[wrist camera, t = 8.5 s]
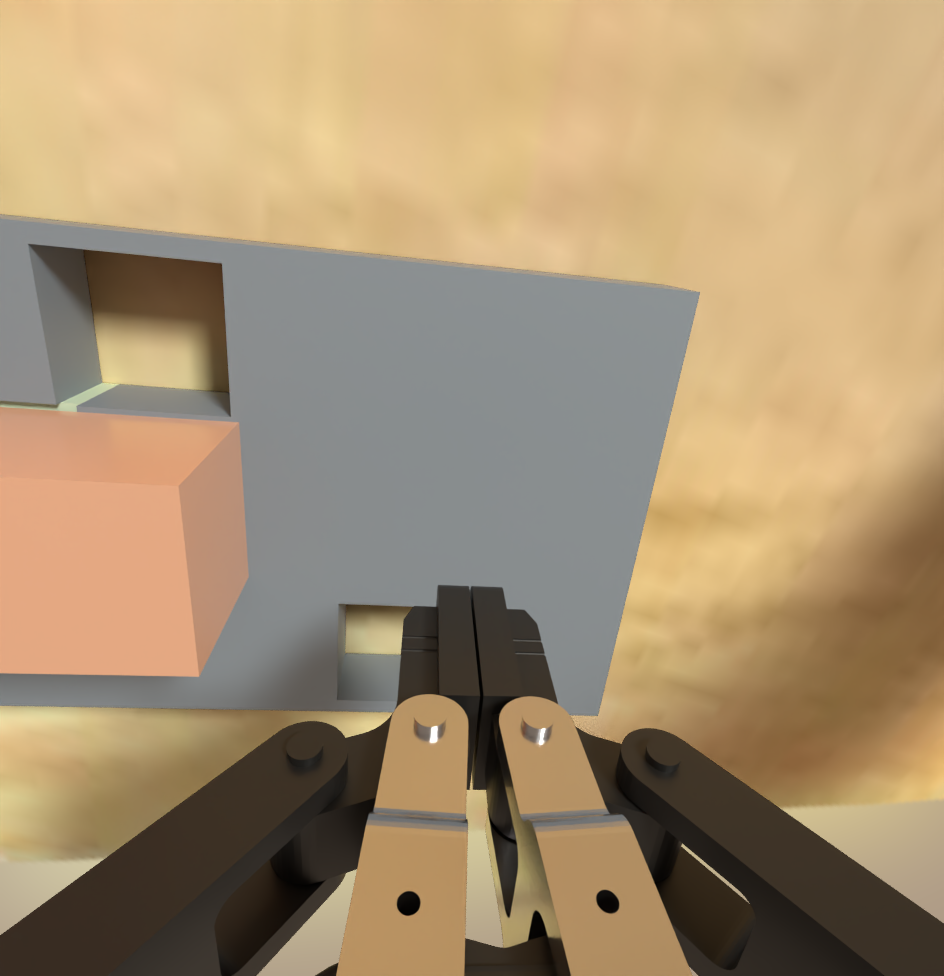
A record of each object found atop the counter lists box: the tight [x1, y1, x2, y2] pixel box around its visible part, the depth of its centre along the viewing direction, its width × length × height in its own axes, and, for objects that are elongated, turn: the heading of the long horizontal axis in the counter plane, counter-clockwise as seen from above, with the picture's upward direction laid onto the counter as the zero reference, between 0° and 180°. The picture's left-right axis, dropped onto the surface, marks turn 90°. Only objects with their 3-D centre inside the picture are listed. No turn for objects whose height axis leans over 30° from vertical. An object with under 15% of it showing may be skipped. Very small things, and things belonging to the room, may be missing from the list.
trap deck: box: [0, 214, 700, 716], centre depth 18 cm, size 23×15×4 cm, turn 84°
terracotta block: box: [0, 407, 249, 677], centre depth 15 cm, size 7×5×4 cm
